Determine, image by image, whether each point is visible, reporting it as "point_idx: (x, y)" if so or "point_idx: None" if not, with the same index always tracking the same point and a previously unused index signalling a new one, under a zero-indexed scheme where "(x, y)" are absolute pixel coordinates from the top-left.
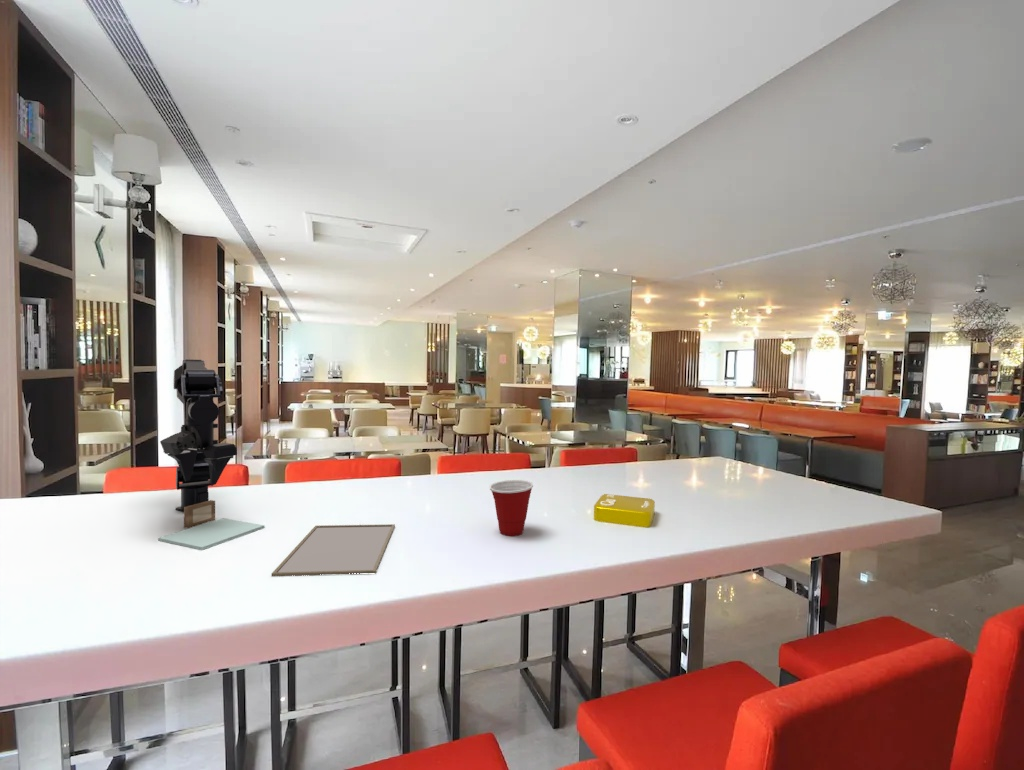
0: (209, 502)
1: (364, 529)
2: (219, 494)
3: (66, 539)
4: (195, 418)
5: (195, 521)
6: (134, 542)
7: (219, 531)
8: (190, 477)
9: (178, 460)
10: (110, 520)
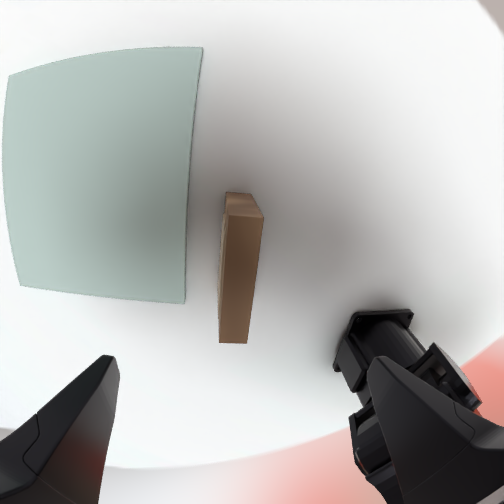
0: (220, 319)
1: None
2: None
3: (455, 39)
4: None
5: (222, 225)
6: (268, 18)
7: (60, 189)
8: (370, 389)
9: (489, 438)
10: (486, 188)
